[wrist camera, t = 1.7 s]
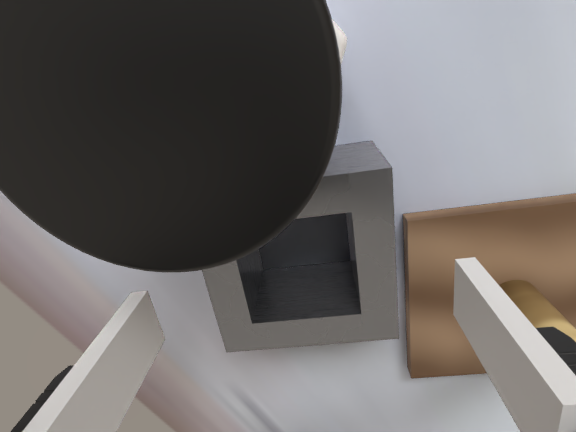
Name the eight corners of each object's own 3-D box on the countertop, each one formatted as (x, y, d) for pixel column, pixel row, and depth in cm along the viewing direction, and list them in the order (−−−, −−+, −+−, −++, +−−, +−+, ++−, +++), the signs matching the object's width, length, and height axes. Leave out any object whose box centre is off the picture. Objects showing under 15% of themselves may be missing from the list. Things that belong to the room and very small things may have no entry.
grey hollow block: (209, 163, 20) (179, 195, 15) (371, 140, 19) (392, 167, 14) (242, 294, 23) (226, 352, 19) (380, 281, 22) (399, 338, 18)
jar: (306, -53, 16) (301, -309, 5) (346, 128, 19) (398, 231, 8) (126, 12, 17) (-204, -67, 6) (190, 171, 20) (48, 307, 9)
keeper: (403, 214, 20) (454, 300, 13) (630, 187, 19) (829, 267, 12) (407, 366, 25) (447, 492, 18) (590, 353, 24) (713, 484, 17)
